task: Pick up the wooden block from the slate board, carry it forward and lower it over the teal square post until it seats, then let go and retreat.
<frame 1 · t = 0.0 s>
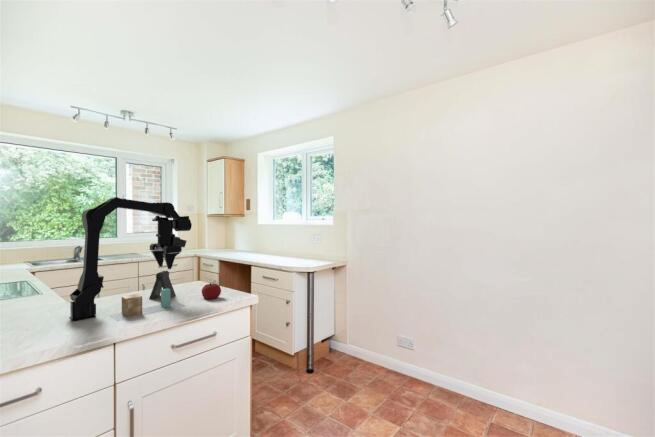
hand: (165, 267, 131), 15 cm above the worktop, fingers open, 9 cm apart
wooden block: (132, 313, 114), resting on board
board: (149, 311, 119), on the worktop
post: (165, 306, 123), resting on board
phone stand: (162, 298, 137), on the worktop
red apple: (211, 299, 137), on the worktop
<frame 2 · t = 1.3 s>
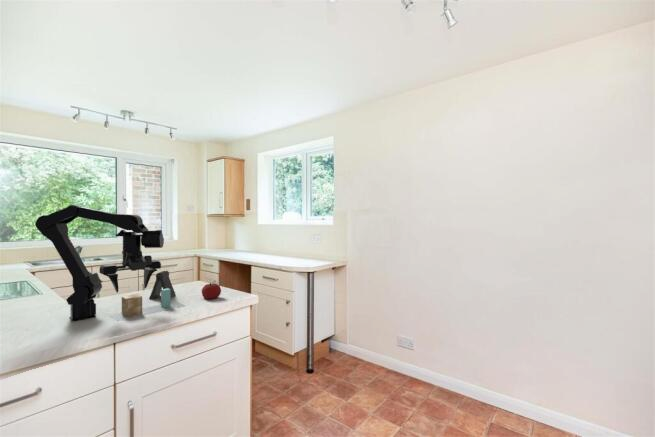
hand: (131, 290, 114), 9 cm above the worktop, fingers open, 9 cm apart
nothing on the worktop moved.
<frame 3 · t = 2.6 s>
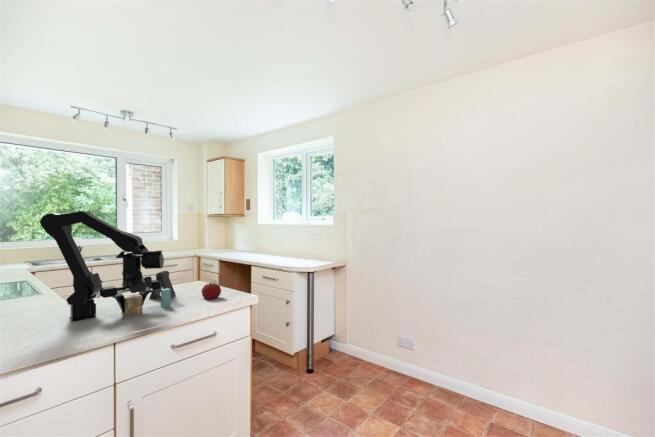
hand: (131, 311, 114), 1 cm above the worktop, fingers closed on wooden block, 5 cm apart
wooden block: (132, 313, 114), resting on board, touching gripper
everything else where it was.
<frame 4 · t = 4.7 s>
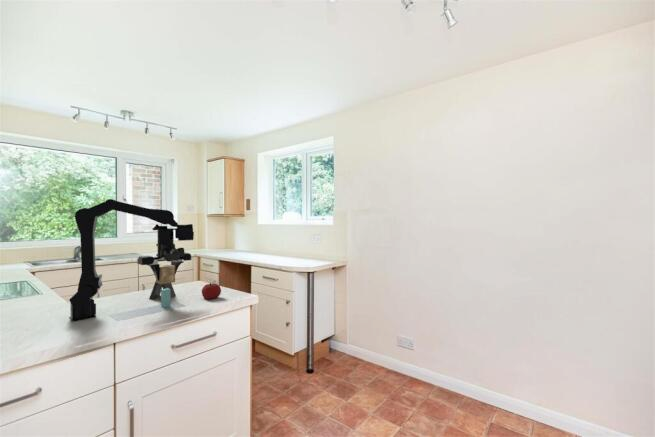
hand: (165, 279, 123), 11 cm above the worktop, fingers closed on wooden block, 5 cm apart
wooden block: (165, 282, 123), point 10 cm above the worktop, touching gripper
everything else where it was.
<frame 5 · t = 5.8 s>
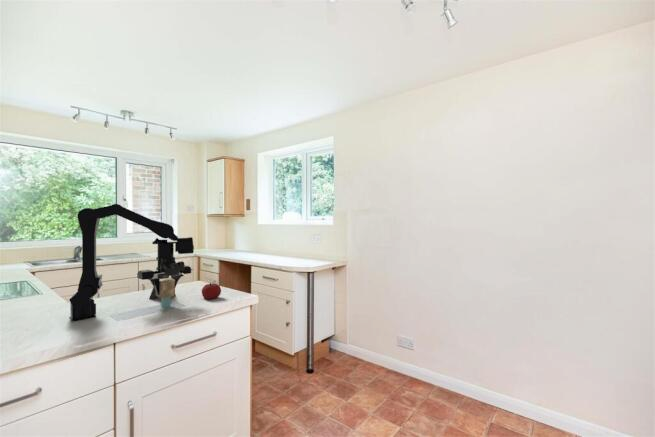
hand: (165, 293, 123), 6 cm above the worktop, fingers closed on wooden block, 5 cm apart
wooden block: (165, 295, 123), point 5 cm above the worktop, touching gripper
everything else where it was.
when the fingers open (4 cm above the worktop, at t = 6.8 s): wooden block drops 1 cm, resting on post.
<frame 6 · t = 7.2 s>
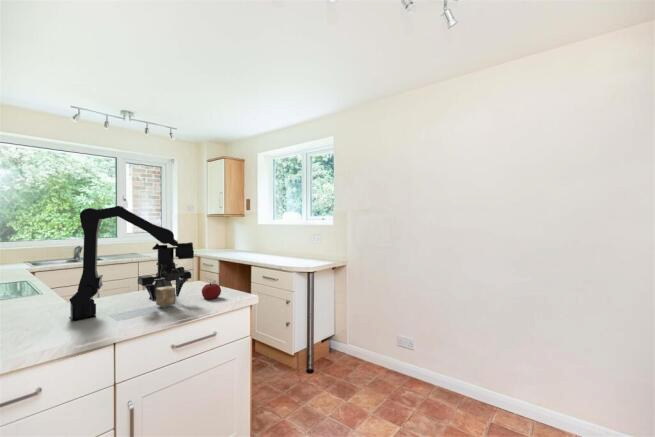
hand: (165, 298, 123), 4 cm above the worktop, fingers open, 9 cm apart
wooden block: (165, 304, 123), point 1 cm above the worktop, touching post
everything else where it was.
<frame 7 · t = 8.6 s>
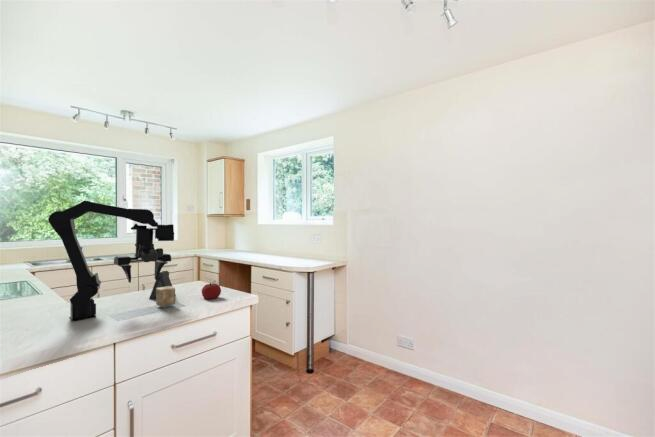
hand: (143, 281, 120), 11 cm above the worktop, fingers open, 9 cm apart
nothing on the worktop moved.
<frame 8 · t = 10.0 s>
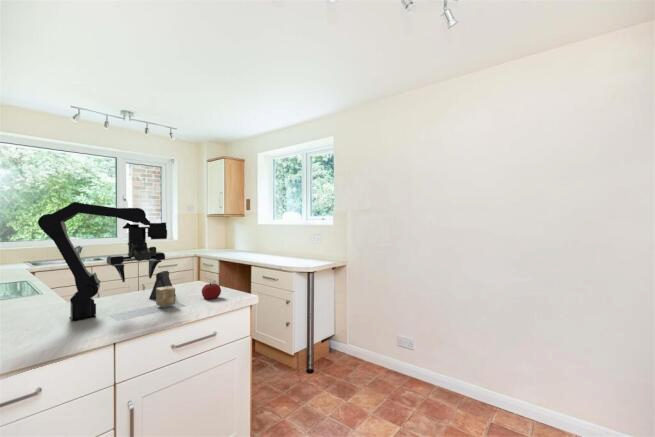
hand: (137, 280, 119), 12 cm above the worktop, fingers open, 9 cm apart
nothing on the worktop moved.
at the end: wooden block 0.1 cm from the post (horizontally); wooden block point 1.4 cm above the worktop; the gripper is holding nothing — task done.
